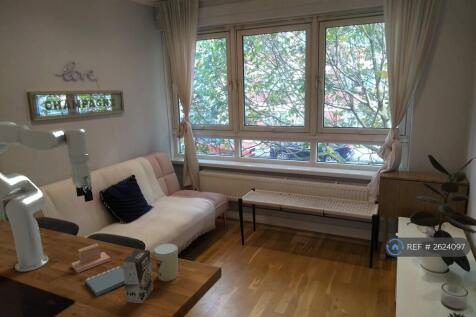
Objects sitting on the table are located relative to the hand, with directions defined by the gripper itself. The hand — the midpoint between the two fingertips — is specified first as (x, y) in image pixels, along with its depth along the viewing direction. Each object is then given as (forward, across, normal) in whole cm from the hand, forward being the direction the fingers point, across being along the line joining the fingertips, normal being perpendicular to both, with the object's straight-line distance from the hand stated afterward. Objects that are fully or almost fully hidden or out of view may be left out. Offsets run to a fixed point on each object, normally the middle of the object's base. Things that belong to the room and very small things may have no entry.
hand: (85, 198), depth 138 cm
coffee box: (+31, +36, +4) cm, 47 cm away
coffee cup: (+31, +32, +18) cm, 48 cm away
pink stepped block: (+30, -1, -1) cm, 30 cm away
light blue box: (+30, +19, -1) cm, 36 cm away
